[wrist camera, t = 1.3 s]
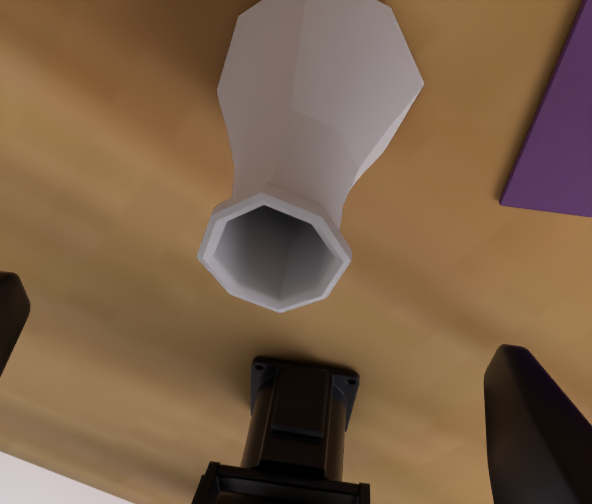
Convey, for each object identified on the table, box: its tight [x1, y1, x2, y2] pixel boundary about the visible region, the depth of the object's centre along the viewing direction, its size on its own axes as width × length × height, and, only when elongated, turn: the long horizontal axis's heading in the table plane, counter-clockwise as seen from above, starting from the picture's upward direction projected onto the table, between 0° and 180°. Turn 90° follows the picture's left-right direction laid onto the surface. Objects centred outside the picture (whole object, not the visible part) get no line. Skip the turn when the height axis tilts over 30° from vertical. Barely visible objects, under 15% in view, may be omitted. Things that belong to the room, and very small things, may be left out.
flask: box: [197, 0, 424, 313], centre depth 14 cm, size 7×7×10 cm
